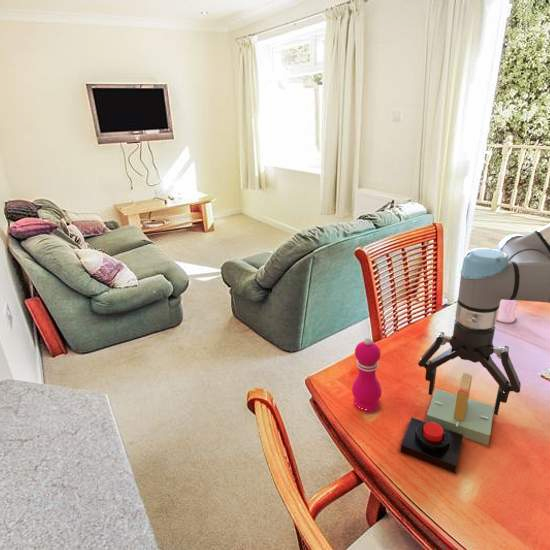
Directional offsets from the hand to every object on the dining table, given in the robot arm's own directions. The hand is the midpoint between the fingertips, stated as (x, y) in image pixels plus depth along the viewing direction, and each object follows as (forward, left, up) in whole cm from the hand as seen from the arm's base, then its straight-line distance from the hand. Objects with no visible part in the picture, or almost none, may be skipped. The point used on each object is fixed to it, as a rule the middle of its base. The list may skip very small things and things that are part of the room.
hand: (462, 400), depth 86 cm
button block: (+4, +11, -6) cm, 13 cm away
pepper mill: (+21, +5, -6) cm, 22 cm away
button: (+4, +11, -2) cm, 12 cm away
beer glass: (-6, -54, -6) cm, 55 cm away
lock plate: (0, 0, -6) cm, 6 cm away
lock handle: (0, 0, -3) cm, 3 cm away
